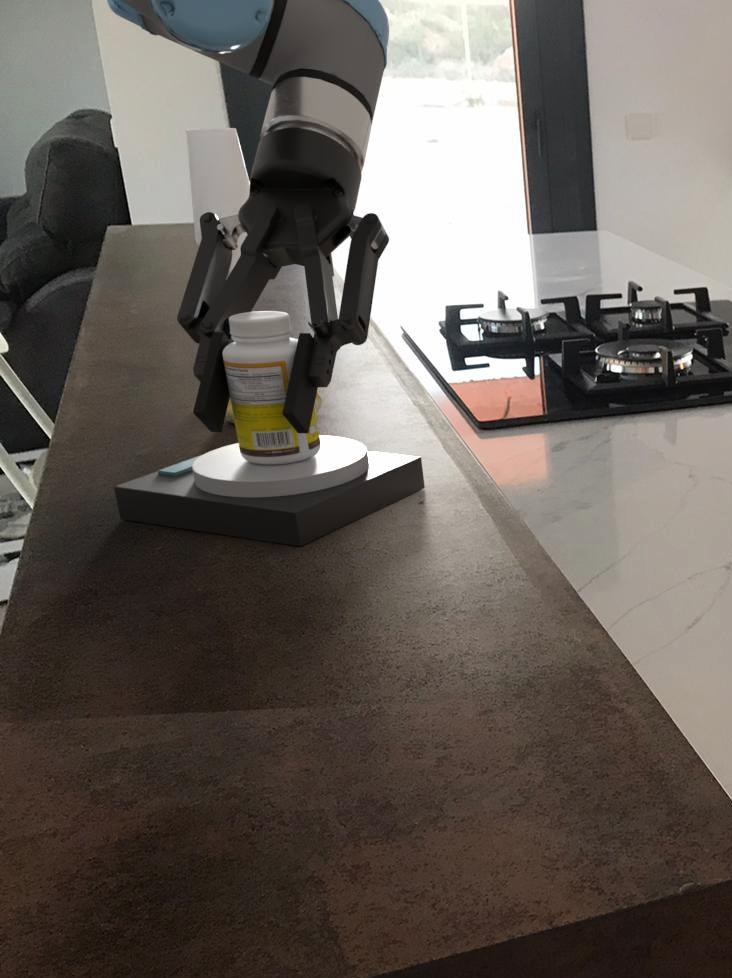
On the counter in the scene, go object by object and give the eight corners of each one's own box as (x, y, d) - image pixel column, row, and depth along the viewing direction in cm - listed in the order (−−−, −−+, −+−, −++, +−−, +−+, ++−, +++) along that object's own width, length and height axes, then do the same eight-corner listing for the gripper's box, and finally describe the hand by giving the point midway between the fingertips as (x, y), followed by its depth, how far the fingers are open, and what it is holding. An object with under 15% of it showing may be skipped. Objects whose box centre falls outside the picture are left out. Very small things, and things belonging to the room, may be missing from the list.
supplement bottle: (295, 441, 97) (274, 305, 93) (337, 454, 94) (317, 314, 90) (225, 457, 93) (200, 316, 89) (266, 472, 90) (242, 326, 86)
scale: (120, 519, 92) (109, 470, 90) (259, 466, 104) (252, 422, 102) (300, 547, 87) (292, 494, 85) (425, 487, 99) (419, 441, 97)
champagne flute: (252, 351, 145) (214, 127, 136) (295, 357, 143) (260, 128, 133) (203, 363, 140) (160, 129, 131) (247, 369, 137) (207, 131, 128)
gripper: (445, 191, 101) (400, 451, 92) (215, 190, 101) (148, 447, 93) (415, 122, 94) (363, 396, 85) (168, 122, 95) (91, 393, 86)
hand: (251, 422), depth 89 cm, fingers closed on supplement bottle, 5 cm apart
